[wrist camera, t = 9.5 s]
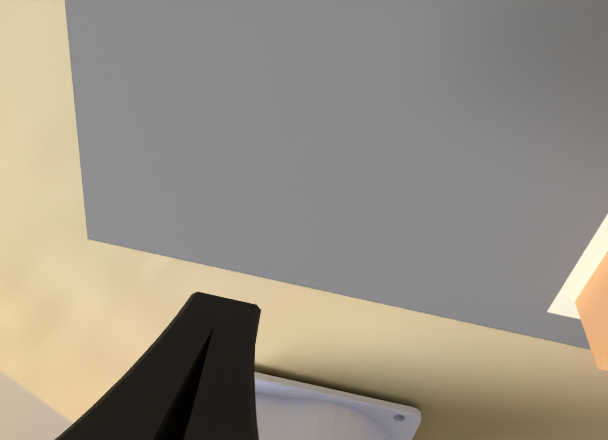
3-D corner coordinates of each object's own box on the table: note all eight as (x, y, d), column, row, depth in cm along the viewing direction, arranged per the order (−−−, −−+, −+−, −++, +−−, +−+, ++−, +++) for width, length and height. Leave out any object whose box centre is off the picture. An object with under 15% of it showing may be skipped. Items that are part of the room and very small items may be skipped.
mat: (92, 232, 22) (87, 239, 22) (52, -213, 14) (43, -213, 13) (878, 405, 22) (886, 415, 21) (1349, 56, 13) (1374, 63, 13)
